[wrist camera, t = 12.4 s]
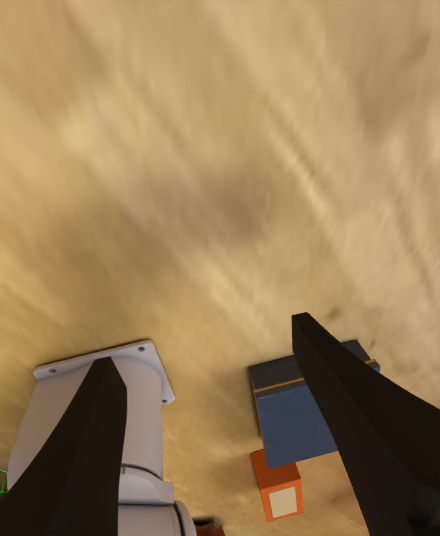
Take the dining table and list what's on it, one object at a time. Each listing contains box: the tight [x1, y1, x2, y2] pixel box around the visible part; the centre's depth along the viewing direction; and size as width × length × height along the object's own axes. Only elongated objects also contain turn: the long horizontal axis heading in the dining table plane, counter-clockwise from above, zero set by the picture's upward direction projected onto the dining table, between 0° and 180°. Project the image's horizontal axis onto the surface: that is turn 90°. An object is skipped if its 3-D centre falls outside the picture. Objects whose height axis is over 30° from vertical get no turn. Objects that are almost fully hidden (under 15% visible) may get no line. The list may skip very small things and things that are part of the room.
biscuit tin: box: [249, 340, 380, 469], centre depth 32 cm, size 11×12×4 cm
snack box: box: [251, 450, 303, 522], centre depth 39 cm, size 9×5×4 cm, turn 10°
